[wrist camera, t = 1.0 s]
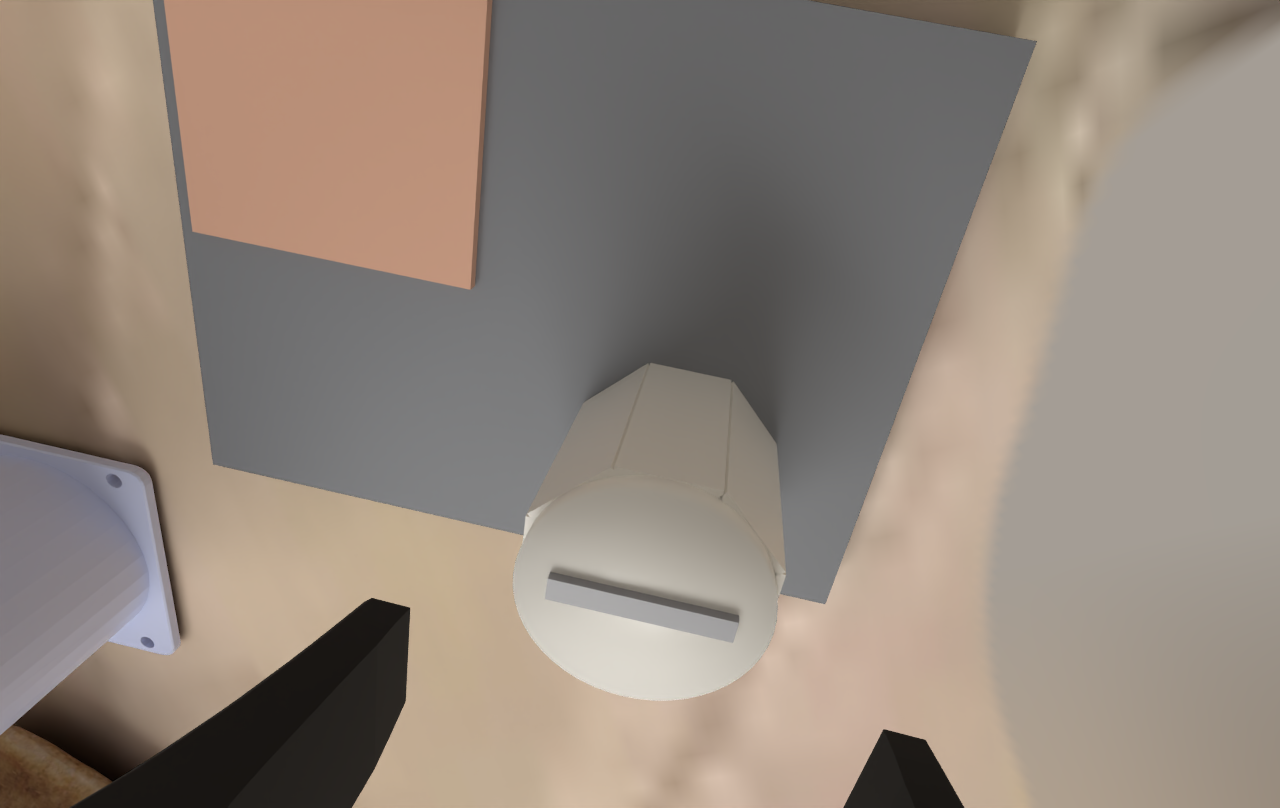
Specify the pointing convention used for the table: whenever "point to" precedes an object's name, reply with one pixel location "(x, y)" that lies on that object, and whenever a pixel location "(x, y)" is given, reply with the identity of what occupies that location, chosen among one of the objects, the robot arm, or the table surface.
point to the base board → (632, 259)
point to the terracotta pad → (336, 127)
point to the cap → (656, 539)
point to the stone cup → (42, 773)
